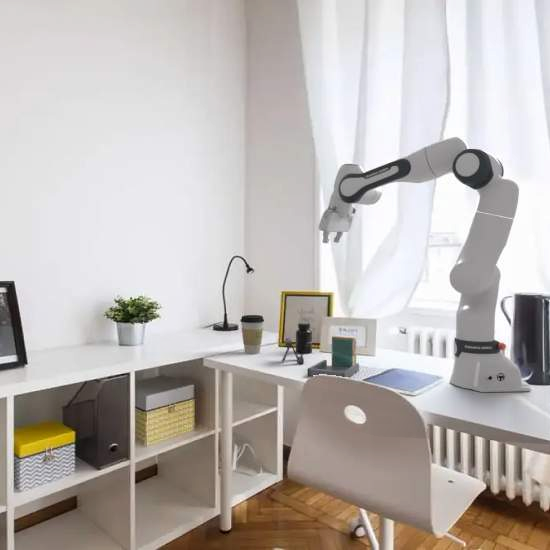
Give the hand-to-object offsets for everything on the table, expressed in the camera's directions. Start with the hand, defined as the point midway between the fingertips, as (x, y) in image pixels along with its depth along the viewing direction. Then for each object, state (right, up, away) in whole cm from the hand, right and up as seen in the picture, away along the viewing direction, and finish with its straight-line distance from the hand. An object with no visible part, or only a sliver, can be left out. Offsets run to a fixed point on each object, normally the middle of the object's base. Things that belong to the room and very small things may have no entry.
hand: (330, 242), depth 185 cm
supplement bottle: (-9, -44, +15) cm, 48 cm away
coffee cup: (-30, -44, +15) cm, 56 cm away
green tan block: (+4, -45, -10) cm, 47 cm away
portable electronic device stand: (-15, -45, -2) cm, 48 cm away
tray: (-1, -46, -19) cm, 50 cm away
